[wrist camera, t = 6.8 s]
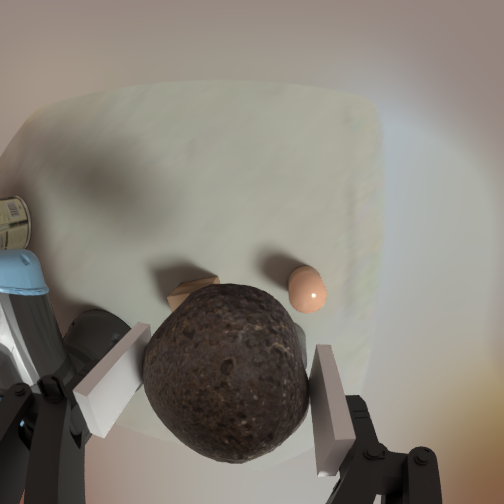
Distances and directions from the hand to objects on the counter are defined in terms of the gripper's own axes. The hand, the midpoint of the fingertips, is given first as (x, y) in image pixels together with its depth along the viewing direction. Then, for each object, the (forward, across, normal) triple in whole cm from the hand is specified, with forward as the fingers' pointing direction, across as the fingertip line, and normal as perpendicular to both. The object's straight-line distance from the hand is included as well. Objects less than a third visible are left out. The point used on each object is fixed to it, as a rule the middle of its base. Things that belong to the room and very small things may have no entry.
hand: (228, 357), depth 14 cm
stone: (+1, 0, 0) cm, 1 cm away
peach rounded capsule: (+19, +6, -2) cm, 20 cm away
